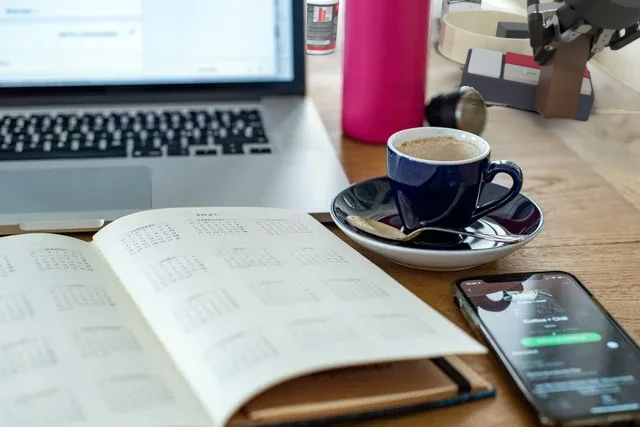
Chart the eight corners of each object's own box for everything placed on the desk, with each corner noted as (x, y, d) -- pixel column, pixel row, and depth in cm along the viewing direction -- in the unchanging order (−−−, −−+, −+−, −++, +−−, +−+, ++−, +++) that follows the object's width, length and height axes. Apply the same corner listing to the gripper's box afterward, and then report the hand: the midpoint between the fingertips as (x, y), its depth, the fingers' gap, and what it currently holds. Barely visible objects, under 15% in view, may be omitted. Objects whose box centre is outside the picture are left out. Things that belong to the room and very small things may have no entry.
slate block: (521, 51, 122) (526, 22, 120) (530, 60, 118) (535, 30, 116) (493, 50, 121) (497, 21, 119) (501, 58, 118) (506, 29, 116)
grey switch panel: (597, 91, 99) (464, 66, 101) (587, 126, 101) (456, 101, 103) (591, 63, 108) (470, 41, 110) (582, 96, 110) (463, 74, 112)
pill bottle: (341, 54, 117) (348, -21, 112) (301, 56, 115) (307, -21, 110) (325, 42, 121) (331, -31, 117) (286, 44, 119) (291, -31, 115)
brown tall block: (563, 107, 98) (585, 0, 93) (574, 119, 95) (598, 8, 90) (533, 106, 98) (553, -2, 92) (543, 118, 95) (565, 7, 89)
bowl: (528, 46, 127) (534, 12, 125) (564, 79, 114) (572, 42, 112) (427, 42, 125) (431, 7, 123) (452, 75, 112) (457, 36, 110)
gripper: (695, -63, 81) (613, 30, 98) (549, -71, 80) (490, 25, 96) (709, 9, 79) (623, 92, 95) (558, 2, 77) (496, 88, 94)
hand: (556, 58), depth 96 cm, fingers closed on brown tall block, 3 cm apart
